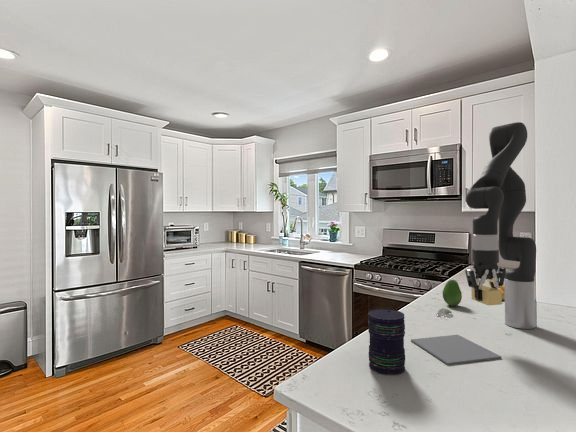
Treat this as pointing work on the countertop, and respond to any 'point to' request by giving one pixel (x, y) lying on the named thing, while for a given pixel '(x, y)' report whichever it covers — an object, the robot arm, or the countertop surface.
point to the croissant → (502, 291)
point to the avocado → (452, 293)
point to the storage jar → (386, 341)
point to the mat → (455, 349)
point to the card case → (489, 296)
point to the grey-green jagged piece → (444, 313)
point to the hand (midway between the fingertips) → (486, 299)
